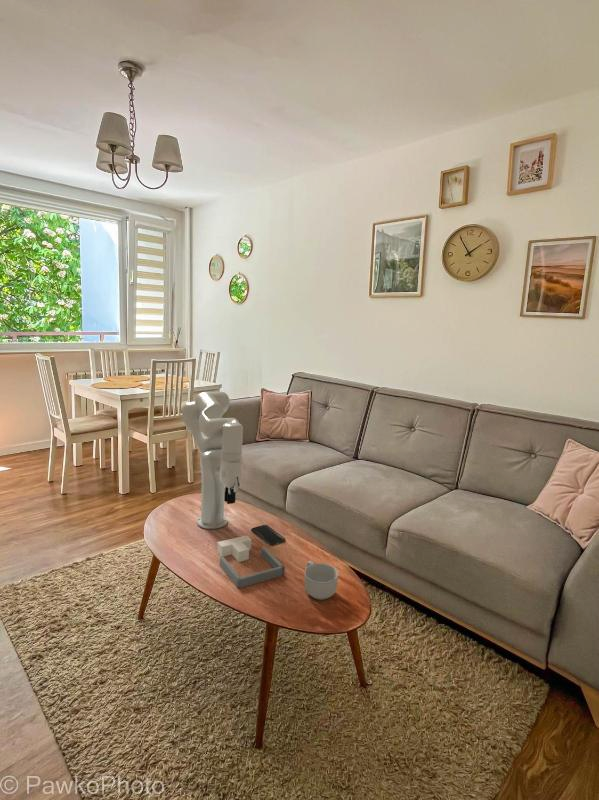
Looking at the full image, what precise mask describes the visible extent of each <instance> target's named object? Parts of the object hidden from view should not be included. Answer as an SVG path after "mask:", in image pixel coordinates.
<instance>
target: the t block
mask: <svg viewBox="0 0 599 800" xmlns="http://www.w3.org/2000/svg"><path fill="white" fill-rule="evenodd" d="M216 549H217V552H216V553H218V555H219V554H220V555H219V556H220V557H226V556H231V555H232V557H233V559H235V560H236V561H237V562H238V563H242V562H244V561H245V562H246V561H249V559H250V557H249V556H250V551H251V550H252V538H250V537H249V536H248V535H242V536H239V537H234V538H229V539H224V540H220V541H217V548H216Z"/></svg>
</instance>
